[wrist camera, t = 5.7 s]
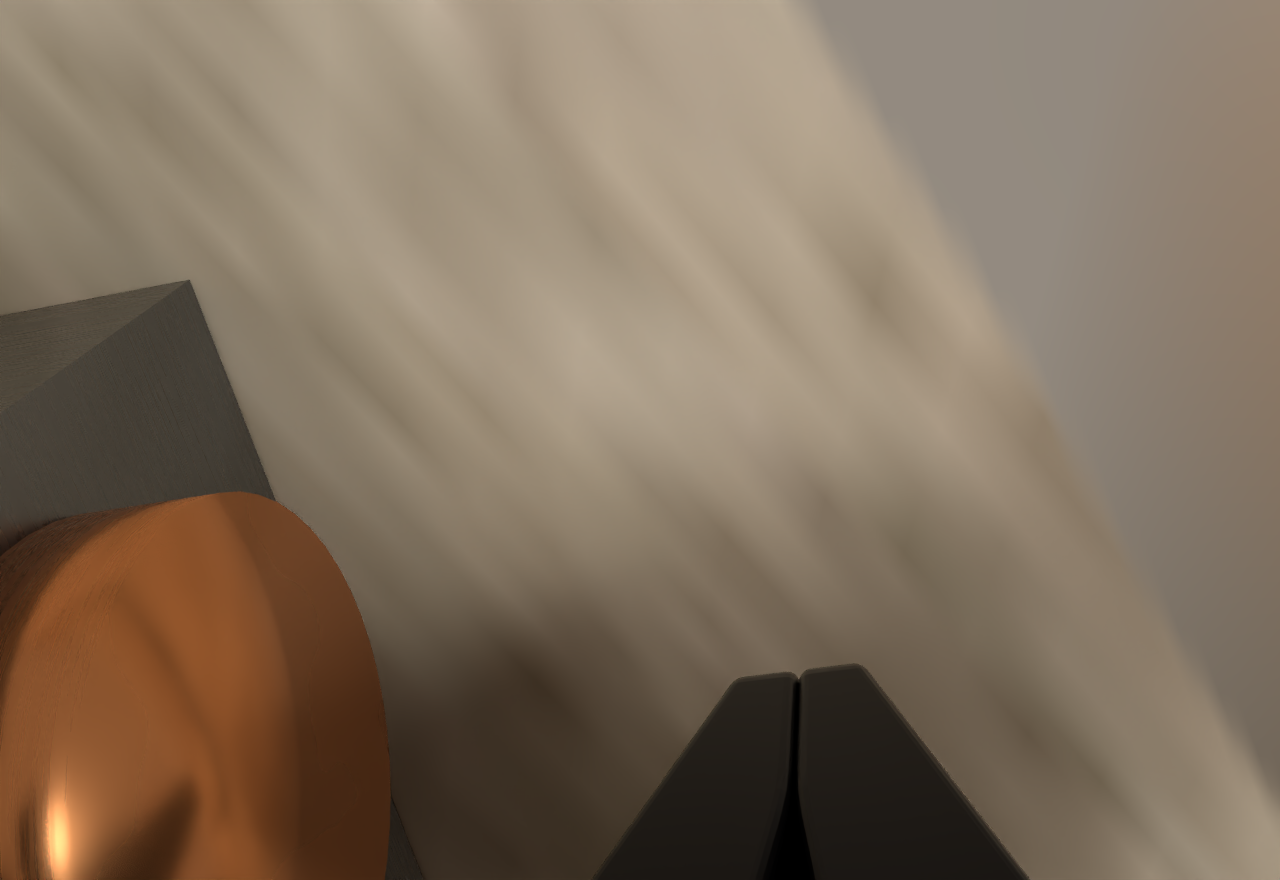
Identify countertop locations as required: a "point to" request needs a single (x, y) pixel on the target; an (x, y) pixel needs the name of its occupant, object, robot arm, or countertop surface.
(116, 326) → the drawbar block
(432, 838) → the countertop surface
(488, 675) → the countertop surface
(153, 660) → the pin
